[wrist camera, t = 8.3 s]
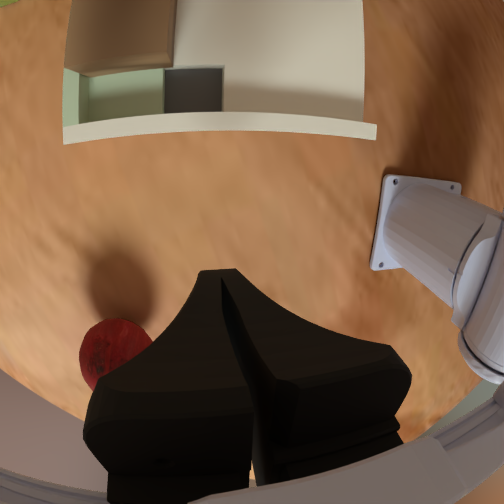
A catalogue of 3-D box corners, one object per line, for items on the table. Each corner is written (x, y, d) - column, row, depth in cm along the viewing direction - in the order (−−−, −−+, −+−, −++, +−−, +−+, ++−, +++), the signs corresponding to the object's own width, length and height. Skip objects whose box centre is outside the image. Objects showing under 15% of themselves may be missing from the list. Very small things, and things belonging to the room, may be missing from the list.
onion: (81, 302, 20) (49, 376, 13) (149, 293, 21) (136, 371, 14) (106, 357, 23) (91, 431, 16) (168, 350, 24) (166, 428, 16)
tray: (350, -20, 14) (371, -35, 11) (351, 136, 19) (375, 140, 16) (96, -29, 11) (84, -49, 8) (82, 140, 16) (63, 144, 13)
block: (178, -5, 12) (174, -34, 8) (173, 67, 14) (166, 51, 10) (97, 6, 11) (76, -18, 8) (90, 77, 13) (63, 67, 10)
